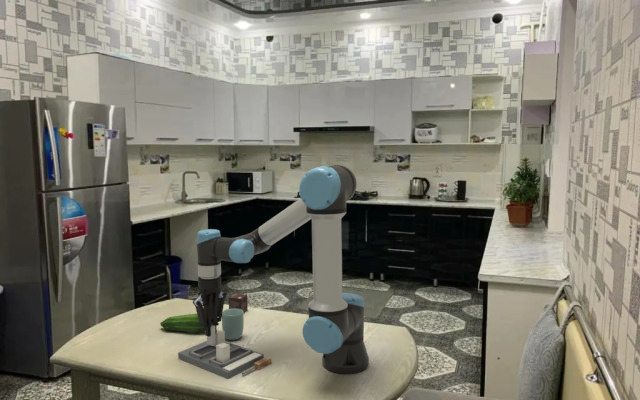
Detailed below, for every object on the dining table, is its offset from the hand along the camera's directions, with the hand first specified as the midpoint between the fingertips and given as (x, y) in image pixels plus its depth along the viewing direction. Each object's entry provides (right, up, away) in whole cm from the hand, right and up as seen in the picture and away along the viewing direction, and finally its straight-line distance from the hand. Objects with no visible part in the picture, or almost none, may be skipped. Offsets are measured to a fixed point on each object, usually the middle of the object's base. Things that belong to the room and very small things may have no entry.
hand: (211, 344), depth 164 cm
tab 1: (+2, -1, +3) cm, 4 cm away
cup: (+5, -2, +15) cm, 16 cm away
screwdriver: (+17, -5, -10) cm, 20 cm away
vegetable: (-15, -2, +22) cm, 27 cm away
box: (+2, +1, +43) cm, 43 cm away
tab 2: (+6, -2, -9) cm, 11 cm away
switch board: (+4, -4, -3) cm, 6 cm away
